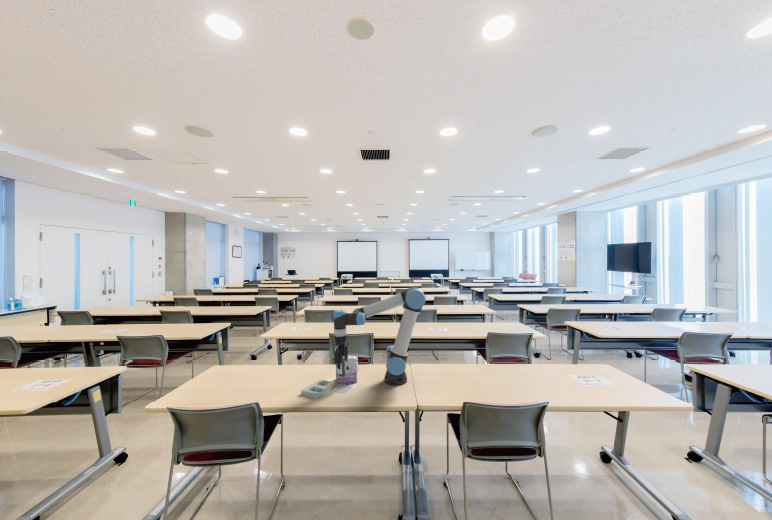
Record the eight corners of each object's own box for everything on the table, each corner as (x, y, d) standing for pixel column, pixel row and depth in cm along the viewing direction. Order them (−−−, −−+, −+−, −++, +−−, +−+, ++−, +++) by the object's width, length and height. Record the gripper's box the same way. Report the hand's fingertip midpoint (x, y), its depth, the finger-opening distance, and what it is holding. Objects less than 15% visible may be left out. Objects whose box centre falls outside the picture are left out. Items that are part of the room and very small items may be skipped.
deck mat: (352, 387, 200) (352, 387, 200) (343, 394, 191) (343, 393, 191) (338, 385, 204) (338, 384, 204) (330, 391, 195) (330, 390, 195)
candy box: (358, 379, 212) (357, 355, 212) (356, 383, 207) (356, 358, 206) (338, 379, 214) (337, 355, 213) (335, 382, 208) (335, 358, 208)
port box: (335, 386, 202) (334, 381, 202) (317, 398, 185) (317, 393, 185) (319, 383, 207) (319, 378, 207) (301, 395, 190) (301, 389, 190)
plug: (346, 374, 198) (345, 355, 198) (343, 376, 195) (342, 357, 194) (341, 373, 200) (340, 354, 200) (337, 376, 196) (336, 356, 196)
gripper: (342, 331, 206) (344, 367, 206) (327, 338, 190) (329, 376, 191) (352, 332, 203) (354, 368, 203) (337, 339, 187) (339, 378, 188)
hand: (341, 372), depth 197 cm, fingers closed on plug, 4 cm apart
